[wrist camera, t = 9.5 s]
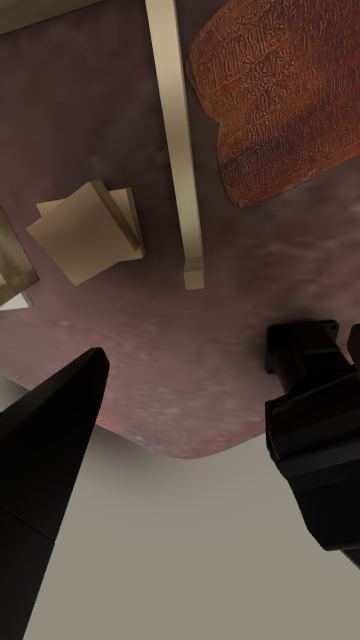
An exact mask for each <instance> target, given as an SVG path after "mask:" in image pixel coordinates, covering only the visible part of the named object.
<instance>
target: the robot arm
mask: <svg viewBox="0 0 360 640" xmlns="http://www.w3.org/2000/svg"><path fill="white" fill-rule="evenodd" d="M332 325H334V326H333V327H331V326H332ZM272 330H275V331H273V332H271V331H272ZM338 330H339V324H338V323H337V322H336V321H321V322H306V323H294V324H285V325H274V326H270V327H269V328H268V329H267V345H266V364H265V370H266V373H268V374H278V377H279V379H280V382H281V385H282V387H283V390H284V393H285V395H283V396H281V397H279V398H276V399H274V400H272V401H271V400H269V401H267V402H265V420H266V444H267V448H268V450H269V452H270V457H271V459H272V460H273V461H274V463H275V465H276V466H277V468H278V470H279V471H280V473H281V474H282V475H283V477H284V478H285V479H286V480H287V481H288V483H289V485H290V487H291V489H292V491H293V494H294V496H295V498H296V501H297V503H298V506H299V509H300V511H301V513H302V516H303V519H304V522H305V524H306V527H307V529H308V531H309V532H310V533H311V534H312V536H313V537H314V538H315V539H316V541H317V542H318V543H319V544H320V546H321V547H322V548H323V549H324V550H326V551H335V550H340V551H341V552H342V553H343V554H344V555H346V557H347V558H349V559H350V560H351V561H352V562H353V563H354V564H355V565H356V566H357V567H358V568H359V569H360V324H355V325H353V326H352V328H351V331H350V335H349V338H348V342H347V349H348V352H349V354H350V356H351V358H352V360H353V362H354V364H353V365H351V364H350V363H349V362H348V360H347V359H346V358H345V356H344V355H343V354H342V352H341V349H340V348H339V346H338V345H337V344H336V342H335V341H336V338H337V334H338ZM109 368H110V364H109V361H108V358H107V356H106V354H105V352H104V350H103V349H102V348H101V347H95V348H90V349H89V350H87V351H86V352H85V353H83V354H82V355H80V356H79V357H78V358H76V359H75V360H73V361H72V362H71V363H69V364H68V365H66V366H65V367H64V368H62V369H61V370H59V371H58V372H57V373H55V374H54V375H52V376H51V377H50V378H48V379H47V380H45V381H44V382H43V383H41V384H40V385H38V386H37V387H36V388H34V389H33V390H31V391H30V392H29V393H27V394H26V395H24V396H23V397H22V398H20V399H19V400H18V401H16V402H15V403H13V404H12V405H10V406H9V407H8V408H6V409H5V410H4V411H2V412H0V640H23V637H24V634H25V631H26V628H27V625H28V622H29V619H30V616H31V613H32V610H33V607H34V604H35V601H36V598H37V595H38V592H39V589H40V586H41V584H42V581H43V578H44V574H45V572H46V569H47V565H48V563H49V559H50V556H51V554H52V551H53V547H54V545H55V542H54V541H56V538H57V535H58V532H59V529H60V526H61V523H62V520H63V517H64V514H65V511H66V508H67V505H68V502H69V499H70V496H71V493H72V490H73V487H74V484H75V482H76V479H77V476H78V472H79V469H80V467H81V463H82V461H83V458H84V454H85V452H86V449H87V446H88V443H89V440H90V436H91V433H92V431H93V428H94V425H95V422H96V419H97V416H98V413H99V410H100V407H101V403H102V400H103V396H104V391H105V387H106V382H107V378H108V373H109ZM270 369H271V370H270Z"/></svg>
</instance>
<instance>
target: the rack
mask: <svg viewBox="0 0 360 640" xmlns="http://www.w3.org/2000/svg"><path fill="white" fill-rule="evenodd" d="M100 1H103V0H0V35H1V34H4V33H7V32H10V31H13V30H16V29H19V28H22V27H25V26H28V25H31V24H34V23H37V22H40V21H43V20H46V19H49V18H52V17H55V16H58V15H61V14H64V13H67V12H70V11H73V10H76V9H79V8H82V7H85V6H88V5H91V4H94V3H97V2H100ZM145 1H146V7H147V13H148V20H149V26H150V33H151V39H152V46H153V52H154V59H155V65H156V72H157V78H158V85H159V91H160V97H161V104H162V110H163V117H164V123H165V130H166V136H167V143H168V149H169V156H170V162H171V168H172V175H173V181H174V188H175V194H176V201H177V207H178V214H179V220H180V227H181V233H182V240H183V246H184V252H185V259H186V260H185V265H184V271H183V275H184V281H185V287H186V290H190V289H199V288H204V255H203V246H202V237H201V228H200V219H199V209H198V200H197V191H196V182H195V173H194V164H193V155H192V146H191V137H190V128H189V119H188V109H187V100H186V91H185V82H184V73H183V64H182V55H181V46H180V37H179V28H178V19H177V9H176V0H145ZM38 280H39V278H38V276H37V274H36V272H35V271H34V269H33V267H32V265H31V263H30V261H29V259H28V257H27V256H26V254H25V252H24V250H23V248H22V246H21V244H20V243H19V241H18V239H17V237H16V235H15V233H14V231H13V230H12V228H11V226H10V224H9V222H8V220H7V218H6V217H5V215H4V213H3V211H2V209H1V207H0V307H1V306H2V305H4V304H5V303H6V302H8V301H9V300H11V299H12V298H14V297H15V296H17V295H18V294H19V293H21V292H22V291H24V290H25V289H27V288H28V287H30V286H31V285H32V284H34V283H35V282H37V281H38Z"/></svg>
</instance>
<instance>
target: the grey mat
mask: <svg viewBox="0 0 360 640" xmlns="http://www.w3.org/2000/svg"><path fill="white" fill-rule="evenodd" d="M31 305H32V302H31V301H30V299H29V297H28V296H27V294H26V292H25V291H22V292H21V293H19V294H18V295H17V296H15V297H14V298H12V299H11V300H9V301H8V302H6V303H5V304H4V305H2V306H1V307H0V310H8V309H17V308H26V307H30V306H31Z"/></svg>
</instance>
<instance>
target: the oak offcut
mask: <svg viewBox="0 0 360 640" xmlns="http://www.w3.org/2000/svg"><path fill="white" fill-rule="evenodd" d="M108 192H109V193H110V195H111V197H112V198H113V200H114V201H115V203H116V205H117V206H118V208H119V209H120V211H121V213H122V214H123V216H124V217H125V219H126V221H127V222H128V224H129V225H130V227H131V229H132V230H133V232H134V233H135V235H136V237H137V238H138V240H139V241H140V243H141V245H140V247H139V248H138V250H137V251H136V252H135V253H134V254H132V255H130V256H128V257H127V258H125V259H123V260H121V261H124V260H133V259H141V258H143V256H144V255H145V253H146V251H145V247H144V242H143V238H142V234H141V229H140V225H139V220H138V216H137V212H136V207H135V203H134V198H133V194H132V190H131V187H130V188H124V189H118V190H112V191H108ZM65 199H66V198H64V199H59V200H53V201H47V202H42V203H38V204H36V205H37V207H38V209H39V212H40V214H41V216H44V215H45V214H46V213H48V212H49V211H50V210H52V209H53V208H54V207H56V206H57V205H58V204H60V203H61V202H62V201H64V200H65Z"/></svg>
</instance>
